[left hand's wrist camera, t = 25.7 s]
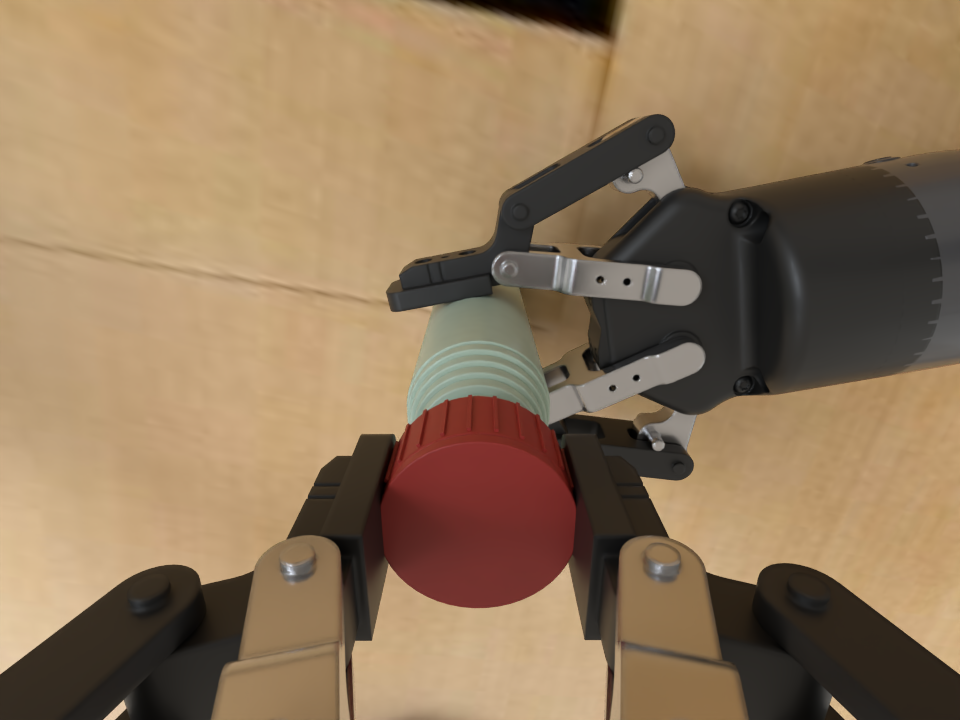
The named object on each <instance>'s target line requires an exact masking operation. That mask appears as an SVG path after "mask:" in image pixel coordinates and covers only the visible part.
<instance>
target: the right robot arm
mask: <svg viewBox="0 0 960 720" xmlns="http://www.w3.org/2000/svg"><path fill="white" fill-rule="evenodd" d="M674 137H675V129H674V125H673V123H672V121H671V120H670V119H669V118H668V117H666V116H664V115H661V114H655V115H650V116H644V117H639V118H634V119H631V120H628V121H627V122H625V123H623V124H621V125H620V126H618V127H616V128H614V129H613V130H611V131H609V132H607V133H606V134H604V135H602V136H601V137H599V138H597V139H595V140H594V141H592V142H590V143H588V144H587V145H585V146H583V147H581V148H580V149H578V150H576V151H574V152H573V153H571V154H569V155H567V156H566V157H564V158H562V159H560V160H559V161H557V162H555V163H553V164H552V165H550V166H548V167H546V168H545V169H543V170H541V171H540V172H538V173H536V174H534V175H533V176H531V177H529V178H527V179H526V180H524V181H522V182H520V183H519V184H517V185H515V186H513V187H512V188H510V189H508V190H507V191H505V192H504V193H503V194H502V196H501V198H500V201H499V210H498V216H497V222H496V228H495V232H494V235H493V237H492V238H491V240H490V241H489V242H488V243H487V244H485V245H483V246H481V247H478V248H472V249H467V250H462V251H457V252H452V253H446V254H442V255H436V256H432V257H425V258H420V259H416V260H414V261H413V262H411V263H410V264H408V265H407V266H405V267H404V268H403V270H402V271H401V273H400V274H399V277H400V280H397V281H395V282H393V283H391V285H390V286H389V288H388V290H387V291H386V294H387V298H388V301H389V305H390V309H391V311H392V312H400V311H406V310H411V309H416V308H422V307H427V306H433V305H438V304H443V303H449V302H454V301H460V300H463V299H467V298H475V297H481V296H487V295H492V294H493V290H492V286H498V285H503V286H507V287H519V288H532V289H544V290H554V291H558V292H561V293H564V294H568V295H575V296H583V297H584V299H585V301H586V304H587V306H588V308H589V311H590V313H591V317H590V324H589V330H588V338H589V343H587V344H584V345H582V346H580V347H578V348H576V349H573V350H571V351H569V352H567V353H566V354H565V355H564V356H563V357H562V359H561V360H559V361H558V362H556V363H554V364H551V365H549V366H547V367H545V368H543V369H542V370H543V373H544V377H545V380H546V384H547V387H548V391H549V396H550V419H549V425H548V427H549V429H550V430H552V429H553V430H554V431H555V434H556V438H557V441H558V443H559V445H560V448H561V439H562V435H563V434H596V435H597V437H598V440H599V442H600V445H601V447H602V450H603V452H604V455H605V456H621V457H622V458H624V459H625V460H626V461H627V462H629V463H630V464H631V465H632V466H633V467H635V468H636V470H637V472H638V474H639V476H640V477H649V478H658V479H667V480H682V479H684V478H686V477H688V476H689V475H690V474H691V472H692V471H693V467H694V463H693V460H692V459H691V457H690V456H689V454H688V453H687V445H688V442H689V439H690V436H691V432H692V429H693V426H694V422H695V419H696V416H697V415H699V414H703V413H706V412H708V411H710V410H711V409H713V408H714V407H716V406H717V405H719V404H720V403H722V402H724V401H726V400H728V399H730V398H733V397H736V396H743V395H776V394H783V393H789V392H795V391H801V390H807V389H813V388H818V387H824V386H830V385H836V384H842V383H848V382H854V381H860V380H866V379H872V378H878V377H884V376H890V375H896V374H902V373H908V372H913V371H919V370H925V369H931V368H937V367H943V366H949V365H954V364H959V363H960V149H959V150H947V151H938V152H931V153H924V154H918V155H913V156H908V157H902V158H901V157H892V158H891V157H885V158H880V159H876V160H872V161H868V162H865V163H864V164H863V165H860V166H856V167H851V168H846V169H841V170H836V171H831V172H825V173H820V174H815V175H810V176H804V177H799V178H794V179H789V180H784V181H779V182H773V183H768V184H763V185H758V186H753V187H748V188H742V189H737V190H732V191H727V192H721V193H708V192H705V191H703V190H700V189H697V188H690V187H687V186H684V183H683V181H682V178H681V176H680V173H679V171H678V168H677V166H676V163H675V161H674V158H673V156H672V153H671V151H670V147H671V145H672V143H673V141H674ZM607 184H609V185H610V187H611V188H613V189H614V190H616V191H620V192H623V193H634V192H636V191H639V190H646V191H647V192H648V193H649V194H650V195H651V197H652V198H651V199H650V200H649V201H648V202H647V203H646V204H645V205H644V206H643V207H642V208H641V209H640V210H639V211H638V212H637V213H636V214H635V215H634V216H633V217H632V218H631V219H630V220H629V221H628V222H627V223H626V224H625V225H624V226H623V227H622V228H621V229H620V230H619V231H618V232H617V233H616V234H615V235H613V236H612V237H611V238H610V239H609V240H608V241H607V242H606V243H605V244H604V245H603V246H595V245H583V244H571V243H553V244H548V243H536V242H531V238H532V233H533V228H534V225H535V224H537V223H539V222H540V221H542V220H544V219H546V218H548V217H549V216H551V215H553V214H555V213H557V212H558V211H560V210H562V209H564V208H566V207H567V206H569V205H571V204H573V203H575V202H576V201H578V200H580V199H582V198H584V197H585V196H587V195H589V194H591V193H593V192H594V191H596V190H598V189H600V188H602V187H603V186H605V185H607ZM636 394H638V395H641V396H643V397H645V398H647V399H650V400H652V401H654V402H656V403H659V404H661V405H663V406H664V407H663V408H662V409H661V410H659V411H657V412H654V413H640V414H638V415H637V417H636V419H635V420H634V421H628V420H620V419H611V418H603V417H594V416H586V415H577V414H575V413H578V412H581V411H585V412H589V413H591V412H596V411H599V410H601V409H603V408H606V407H608V406H610V405H613V404H615V403H617V402H620V401H622V400H624V399H627V398H629V397H631V396H634V395H636Z"/></svg>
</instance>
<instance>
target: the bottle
mask: <svg viewBox="0 0 960 720" xmlns="http://www.w3.org/2000/svg"><path fill="white" fill-rule="evenodd" d="M492 290H493V294H492V295H487V296H481V297H475V298H467V299H463V300H460V301H454V302H449V303H443V304H438V305H434V306H433V309H432V312H431V316H430V319H429V323H428V326H427V329H426V333H425V336H424V340H423V343H422V347H421V350H420V353H419V357H418V360H417V364H416V367H415V370H414V374H413V377H412V381H411V384H410V387H409V392H408V397H407V417H408V423H409V424H410V425H411V424H412V423H413V422H414V421H415V419H417V418H418V417H419V416H420V415H422V414H423V411H424V410H425V409H427V410H429V409H431V408H433V407H435V406H436V405H439V404H440V403H443V402H444V400H446V399H448V400H449V401H450V400H453V399H457V398H463V397H468V395H472V396H485V397H493V396H497V398H499V399H503V400H508V401H511V402H513V403H515V404H516V402H518V403H520V406H522V407H524V408H526V409H527V410H529V411H530V412H532V413H533V414H535V415H536V414H538V415H540V419H541V420H542V421H543V422H544V423H545V424H546V425H547V426H548V425H549V419H550V396H549V391H548V387H547V384H546V380H545V377H544V373H543V370H542V366H541V363H540V359H539V356H538V352H537V348H536V345H535V341H534V338H533V334H532V331H531V327H530V324H529V320H528V317H527V313H526V310H525V306H524V303H523V299H522V295H521V292H520V288H519V287H507V286H503V285H498V286H492Z"/></svg>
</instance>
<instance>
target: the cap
mask: <svg viewBox="0 0 960 720" xmlns="http://www.w3.org/2000/svg"><path fill="white" fill-rule="evenodd" d="M384 482H385V483H386V485H385V488H384V493H383V495H382V499H381V503H380V506H381V520H382V533H383V546H384V555H385V558H386V559H387V561H388V563H389V564H390V566H391V568H392V569H393V570H394V571H395V572H396V574H397V575H398V576H399V577H400V578H401V579H402V580H403V581H404V582H405V583H407V584H408V585H409V586H411V587H412V588H413V589H415V590H416V591H418V592H420V593H421V594H423V595H425V596H427V597H429V598H431V599H434V600H436V601H439V602H442V603H445V604H449V605H454V606H459V607H467V608H489V607H498V606H503V605H507V604H511V603H514V602H517V601H520V600H523V599H525V598H527V597H529V596H531V595H533V594H535V593H537V592H538V591H540V590H542V589H543V588H544V587H546V586H547V585H548V584H550V583H551V582H552V581H553V580H554V579H555V578H556V577H557V576H558V575H559V574H560V573H561V571H562V570H563V569H564V568H565V566H566V565H567V563H568V561H569V560H570V558H571V556H572V554H573V546H574V533H575V520H576V503H575V499H574V495H573V491H572V490H573V483H572V479H571V476H570V472H569V468H568V465H567V461H566V458H565V454H564V450H563V448H560V445H559V443H558V441H557V438H556V434H555V431H554V430H553V429H552V430H550V429H549V427H548V426H547V425H546V424H545V423H544V422H543V421H542V420H541V419H540V415H538V414H536V415H535V414H533V413H532V412H530V411H529V410H527V409H526V408H524V407H522V406H520V403H518V402H516V404H515V403H513V402H511V401H508V400H503V399H499V398H497V396H493V397H485V396H472V395H468V397H463V398H457V399H453V400H450V401H449V400H448V399H446V400H444V402H443V403H440V404H439V405H436V406H435V407H433V408H431V409H429V410H427V409H425V410H424V411H423V414H422V415H420V416H419V417H418V418H417V419H415V421H414V422H413V423H412V424H411V425H410V424H409V423H408V424H407V425H406V429H405V432H404V433H403V435H402V437H401V439H400V440H399V442H398V441H396V442H395V445H394V448H393V452H392V455H391V459H390V462H389V466H388V469H387V472H386V476H385V479H384Z"/></svg>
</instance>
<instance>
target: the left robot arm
mask: <svg viewBox="0 0 960 720" xmlns="http://www.w3.org/2000/svg"><path fill="white" fill-rule="evenodd" d="M395 442H396V438H395V435H394V434H362V435H361V436H360V438H359V440H358V443H357V445H356V448H355V450H354V453H353V455H352V456H336V457H335V458H334V459H333V460H331V461H330V462H329V463H328V464H327V465H325V466H324V467H323V468H322V469H321V470H320V472H319V474H318V476H317V478H316V480H315V483H314V486H313V487H312V489H311V491H310V493H309V495H308V499H306V501H305V503H304V505H303V507H302V509H301V511H300V513H299V515H298V517H297V519H296V521H295V523H294V525H293V527H292V529H291V531H290V533H289V535H288V537H287V539H286V540H284V541H282V542H280V543H278V544H276V545H274V546H273V547H271V548H270V549H268V550H267V551H266V552H265V553H264V554H263V555H262V556H261V557H260V559H259V560H258V562H257V564H256V566H255V569H254V571H252V572H250V573H247V574H245V575H242V576H239V577H235V578H231V579H227V580H223V581H218V582H214V583H210V584H205V585H201V582H200V578H199V575H198V574H197V573H196V571H194V570H193V569H192V568H189V567H187V566H182V565H164V566H158V567H155V568H151V569H148V570H145V571H142V572H140V573H138V574H136V575H133V576H132V577H130V578H128V579H126V580H125V581H123V582H122V583H120V584H119V585H117V586H116V587H115V588H114V589H112V590H111V591H110V592H108V593H107V594H106V595H104V596H103V597H102V598H100V599H99V600H98V601H96V602H95V603H94V604H92V605H91V606H90V607H89V608H87V609H86V610H85V611H83V612H82V613H81V614H79V615H78V616H77V617H75V618H74V619H73V620H71V621H70V622H69V623H67V624H66V625H65V626H64V627H62V628H61V629H60V630H58V631H57V632H56V633H54V634H53V635H52V636H50V637H49V638H48V639H46V640H45V641H44V642H42V643H41V644H40V645H39V646H37V647H36V648H35V649H33V650H32V651H31V652H29V653H28V654H27V655H25V656H24V657H23V658H21V659H20V660H19V661H17V662H16V663H15V664H14V665H12V666H11V667H10V668H8V669H7V670H6V671H4V672H3V673H2V674H0V720H103V719H104V718H105V717H106V716H107V715H108V714H109V713H110V712H111V711H113V710H114V709H115V708H116V707H117V706H118V705H119V704H120V703H121V702H122V701H123V700H124V702H125V705H126V708H127V709H126V710H125V711H124V712H123V713H122V714H121V715H120V716H119V717H118V718H117V719H116V720H356V714H355V688H354V670H353V661H352V651H353V647H354V643H355V641H372V637H373V633H374V628H375V623H376V619H377V614H378V610H379V605H380V600H381V596H382V591H383V587H384V582H385V578H386V573H387V568H388V564H389V563H388V561H387V559H386V558H385V555H384V546H383V533H382V520H381V506H380V503H381V499H382V495H383V493H384V488H385V485H386V483H385V482H384V479H385V476H386V472H387V469H388V466H389V462H390V459H391V455H392V452H393V448H394V445H395ZM561 448H563V450H564V454H565V458H566V461H567V465H568V468H569V472H570V476H571V479H572V483H573V490H572V491H573V495H574V499H575V503H576V520H575V533H574V546H573V554H572V556H571V558H570V560H569V561H568V563H569V568H570V573H571V577H572V582H573V587H574V591H575V596H576V601H577V606H578V610H579V615H580V620H581V625H582V629H583V634H584V639H585V640H601V641H602V645H603V649H604V653H605V657H606V660H607V670H606V689H605V714H604V720H844V719H843V718H842V717H841V716H840V715H839V714H838V713H837V712H836V711H835V710H834V709H833V708H832V707H831V706H830V705H829V704H830V701H831V698H832V696H833V697H834V698H835V699H836V700H837V701H838V702H839V703H840V704H841V705H842V706H843V707H844V708H845V709H846V710H847V711H848V712H850V713H851V714H852V715H853V716H854V717H855V718H856V719H857V720H960V674H958V673H957V672H956V671H954V670H953V669H952V668H950V667H949V666H948V665H946V664H945V663H944V662H943V661H941V660H940V659H939V658H937V657H936V656H935V655H933V654H932V653H931V652H929V651H928V650H927V649H925V648H924V647H923V646H921V645H920V644H919V643H918V642H916V641H915V640H914V639H912V638H911V637H910V636H908V635H907V634H906V633H904V632H903V631H902V630H900V629H899V628H898V627H896V626H895V625H894V624H893V623H891V622H890V621H889V620H887V619H886V618H885V617H883V616H882V615H881V614H879V613H878V612H877V611H875V610H874V609H873V608H871V607H870V606H869V605H867V604H866V603H865V602H864V601H862V600H861V599H860V598H858V597H857V596H856V595H854V594H853V593H852V592H850V591H849V590H848V589H846V588H845V587H844V586H842V585H841V584H840V583H838V582H837V581H836V580H834V579H833V578H831V577H829V576H827V575H826V574H824V573H821V572H819V571H817V570H814V569H812V568H809V567H805V566H802V565H797V564H789V563H780V564H773V565H770V566H768V567H766V568H764V569H763V570H762V571H761V573H760V574H759V577H758V581H757V585H753V584H749V583H745V582H740V581H736V580H732V579H727V578H723V577H720V576H716V575H713V574H710V573H708V572H706V569H705V566H704V564H703V562H702V560H701V559H700V557H699V556H698V555H697V554H696V553H695V552H694V551H693V550H692V549H690V548H689V547H687V546H686V545H684V544H682V543H680V542H678V541H676V540H673V539H670V538H669V536H668V534H667V532H666V530H665V528H664V526H663V524H662V522H661V520H660V518H659V516H658V513H657V511H656V509H655V507H654V505H653V503H652V501H651V499H650V498H649V495H648V493H647V491H646V489H645V487H644V486H643V482H642V480H641V478H640V476H639V474H638V472H637V470H636V468H635V467H633V466H632V465H631V464H630V463H629V462H627V461H626V460H625V459H624V458H622V457H621V456H605V455H604V452H603V450H602V447H601V445H600V442H599V440H598V437H597V435H596V434H563V435H562V439H561Z"/></svg>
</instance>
